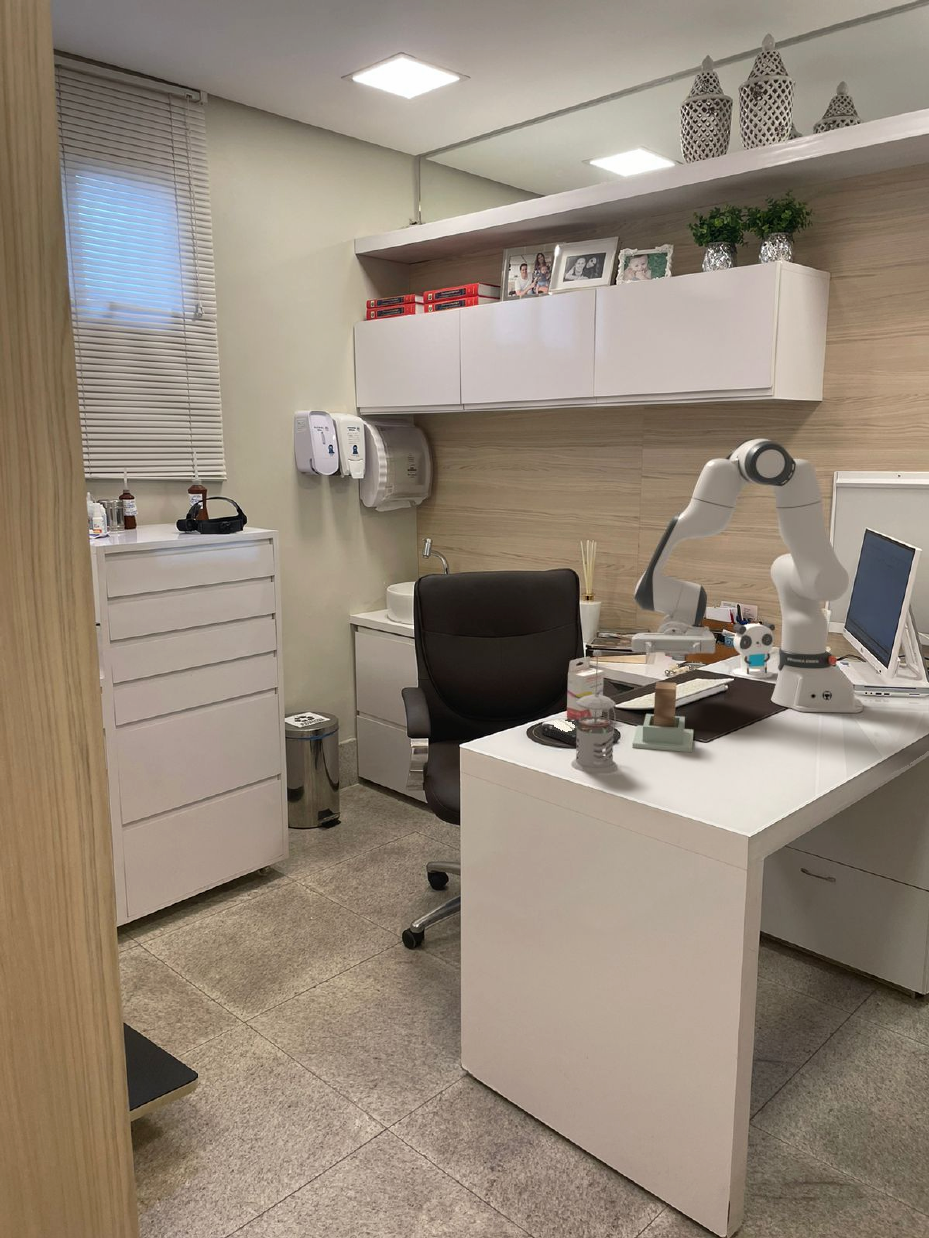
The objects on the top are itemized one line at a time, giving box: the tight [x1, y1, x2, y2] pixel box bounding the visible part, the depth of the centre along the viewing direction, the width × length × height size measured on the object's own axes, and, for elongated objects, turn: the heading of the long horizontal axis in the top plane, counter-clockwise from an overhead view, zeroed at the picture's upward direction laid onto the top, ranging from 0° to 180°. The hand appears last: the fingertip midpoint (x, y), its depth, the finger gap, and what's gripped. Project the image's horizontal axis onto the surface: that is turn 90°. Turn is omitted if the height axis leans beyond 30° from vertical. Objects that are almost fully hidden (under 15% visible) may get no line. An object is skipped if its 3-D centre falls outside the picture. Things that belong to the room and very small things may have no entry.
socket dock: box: [631, 713, 694, 753], centre depth 216 cm, size 13×14×4 cm
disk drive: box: [541, 718, 618, 747], centre depth 218 cm, size 10×3×15 cm
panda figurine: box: [732, 621, 776, 679], centre depth 278 cm, size 12×11×15 cm
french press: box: [570, 649, 618, 774], centre depth 198 cm, size 10×12×25 cm
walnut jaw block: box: [653, 681, 677, 727], centre depth 215 cm, size 4×6×12 cm
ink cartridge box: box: [566, 656, 605, 720], centre depth 233 cm, size 9×5×15 cm, turn 134°
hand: (671, 650), depth 226 cm, fingers open, 8 cm apart
